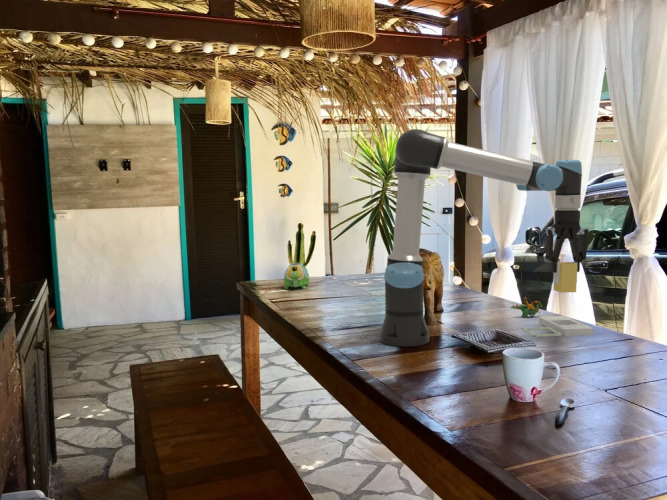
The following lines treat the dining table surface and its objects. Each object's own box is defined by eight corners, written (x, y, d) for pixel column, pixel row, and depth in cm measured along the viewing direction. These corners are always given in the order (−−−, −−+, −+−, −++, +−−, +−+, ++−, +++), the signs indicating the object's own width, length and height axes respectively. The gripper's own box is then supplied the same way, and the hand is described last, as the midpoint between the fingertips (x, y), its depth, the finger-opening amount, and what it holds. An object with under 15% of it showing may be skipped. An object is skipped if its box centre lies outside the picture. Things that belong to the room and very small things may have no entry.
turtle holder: (280, 292, 269) (280, 266, 268) (285, 286, 287) (285, 262, 286) (307, 292, 269) (306, 266, 268) (310, 285, 287) (310, 261, 286)
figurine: (544, 320, 203) (544, 297, 202) (511, 321, 202) (511, 298, 201) (540, 318, 206) (540, 295, 205) (507, 319, 205) (508, 296, 204)
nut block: (560, 292, 182) (561, 264, 182) (553, 289, 187) (554, 262, 186) (576, 292, 183) (577, 263, 182) (568, 289, 188) (569, 261, 187)
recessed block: (564, 339, 177) (565, 329, 177) (538, 325, 195) (538, 316, 195) (593, 337, 178) (593, 328, 178) (564, 324, 196) (564, 315, 195)
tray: (534, 339, 177) (534, 335, 177) (521, 332, 186) (522, 328, 186) (562, 338, 178) (562, 333, 177) (548, 331, 186) (549, 327, 186)
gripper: (545, 210, 178) (543, 285, 180) (601, 209, 180) (598, 283, 182) (534, 209, 185) (532, 281, 188) (588, 208, 187) (585, 280, 189)
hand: (564, 282), depth 185 cm, fingers closed on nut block, 5 cm apart
